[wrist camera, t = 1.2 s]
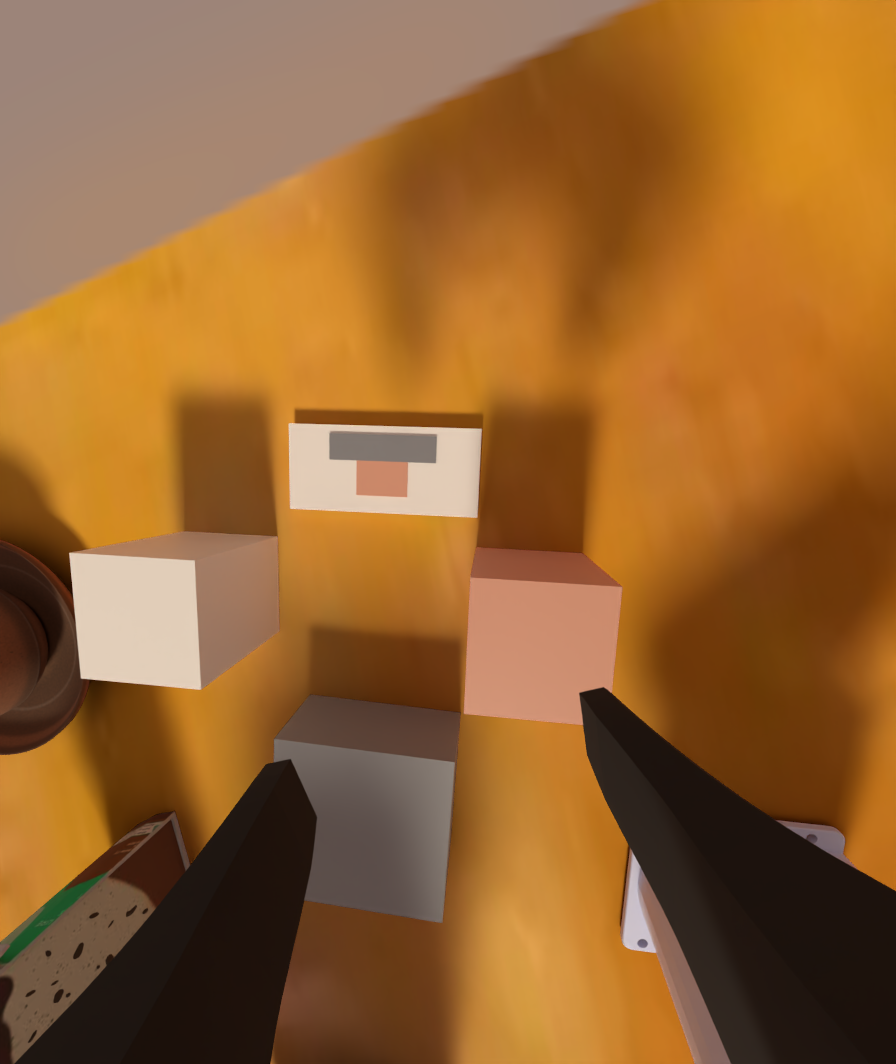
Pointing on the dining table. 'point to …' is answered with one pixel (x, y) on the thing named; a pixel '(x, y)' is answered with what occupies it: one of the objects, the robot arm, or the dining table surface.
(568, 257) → the dining table surface
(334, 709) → the charcoal base block
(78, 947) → the food container
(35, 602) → the cup and saucer
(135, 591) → the off-white block
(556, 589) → the terracotta block
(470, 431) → the card
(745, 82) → the dining table surface
